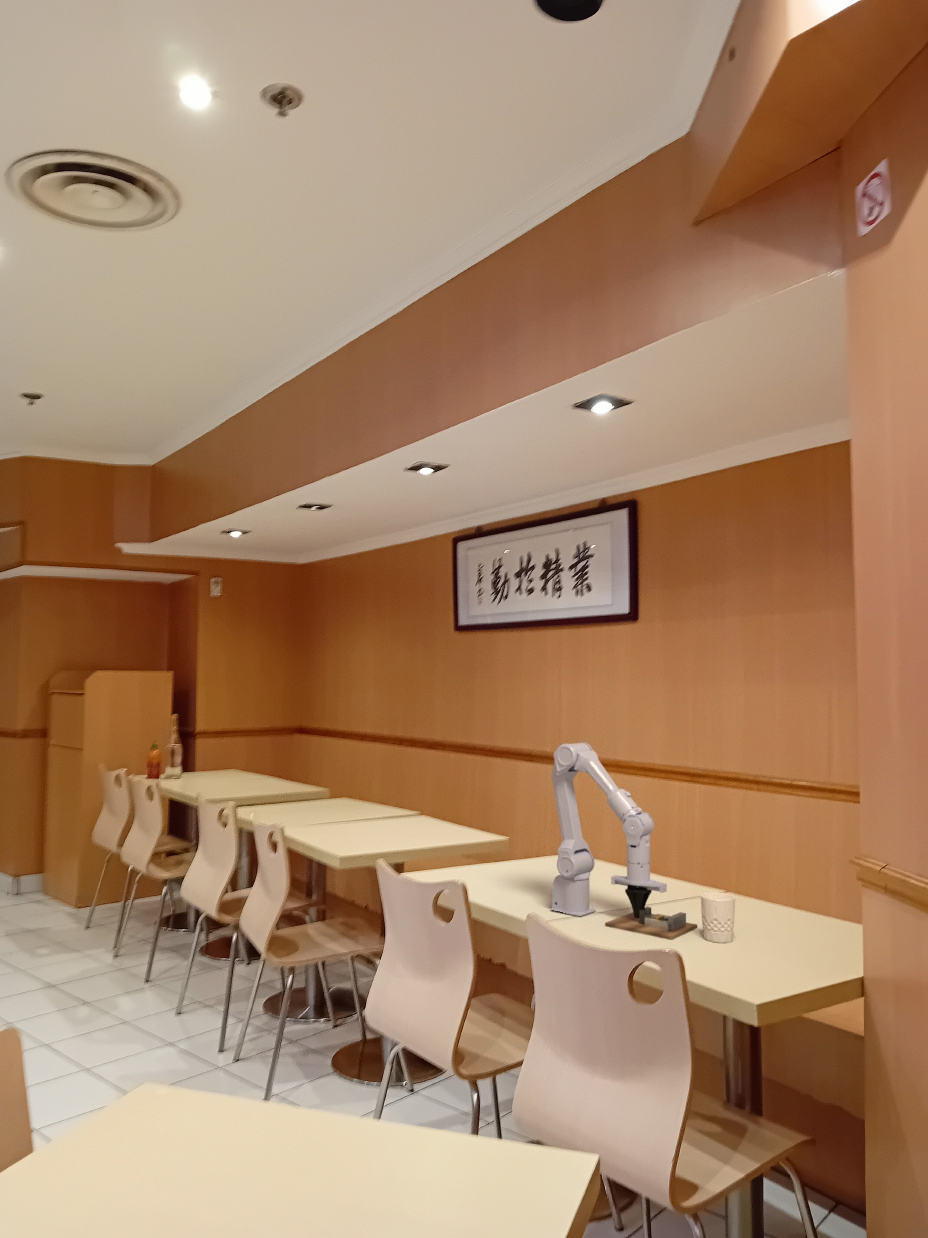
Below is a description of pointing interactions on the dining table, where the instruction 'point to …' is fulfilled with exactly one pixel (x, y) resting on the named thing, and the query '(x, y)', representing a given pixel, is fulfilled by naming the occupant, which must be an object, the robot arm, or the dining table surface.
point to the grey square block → (649, 915)
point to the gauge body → (667, 922)
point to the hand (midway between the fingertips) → (638, 917)
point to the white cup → (718, 917)
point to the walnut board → (633, 925)
